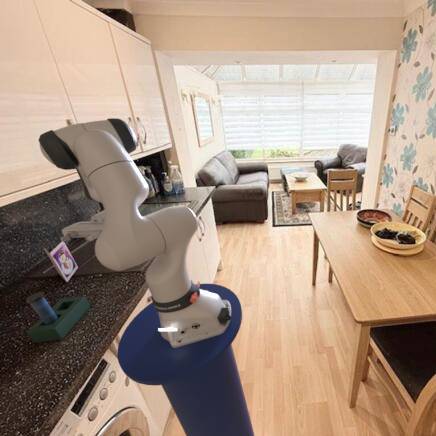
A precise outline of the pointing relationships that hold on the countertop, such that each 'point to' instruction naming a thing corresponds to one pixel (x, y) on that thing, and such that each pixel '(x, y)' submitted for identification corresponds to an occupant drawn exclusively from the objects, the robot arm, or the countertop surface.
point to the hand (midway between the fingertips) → (75, 239)
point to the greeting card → (63, 261)
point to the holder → (60, 320)
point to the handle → (42, 308)
